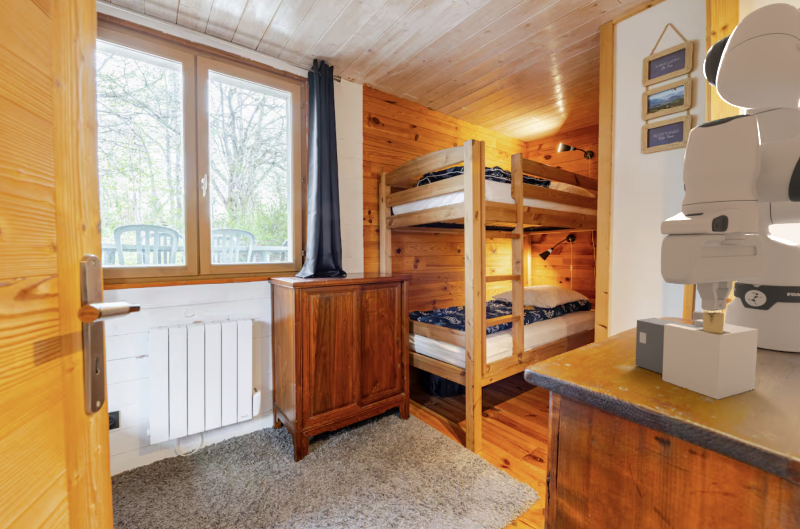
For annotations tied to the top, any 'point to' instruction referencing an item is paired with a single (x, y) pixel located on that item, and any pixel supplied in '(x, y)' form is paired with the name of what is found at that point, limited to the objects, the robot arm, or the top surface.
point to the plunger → (713, 322)
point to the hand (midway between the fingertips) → (713, 309)
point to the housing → (710, 359)
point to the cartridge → (652, 342)
